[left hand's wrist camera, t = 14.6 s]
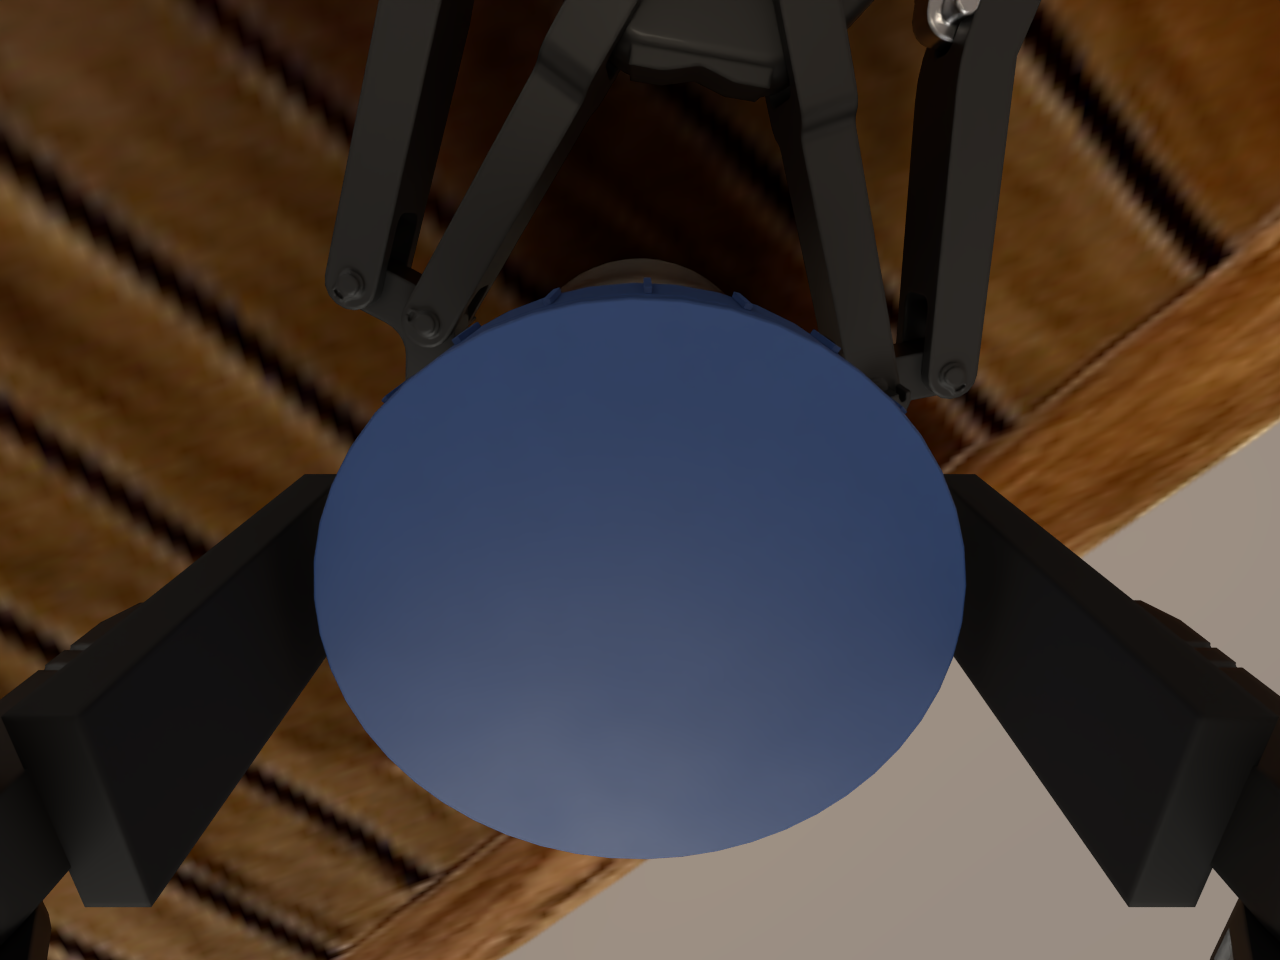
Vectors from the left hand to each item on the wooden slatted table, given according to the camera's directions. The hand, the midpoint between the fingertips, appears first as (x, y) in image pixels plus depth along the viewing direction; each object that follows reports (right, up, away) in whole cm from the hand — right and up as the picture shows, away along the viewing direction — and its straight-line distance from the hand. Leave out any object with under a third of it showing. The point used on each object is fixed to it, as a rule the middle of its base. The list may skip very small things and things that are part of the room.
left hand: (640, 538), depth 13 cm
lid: (0, -1, -3) cm, 3 cm away
